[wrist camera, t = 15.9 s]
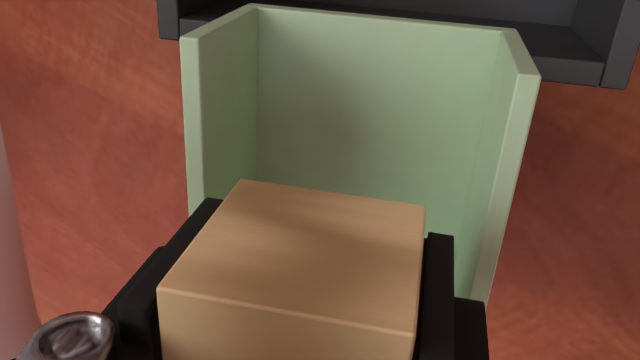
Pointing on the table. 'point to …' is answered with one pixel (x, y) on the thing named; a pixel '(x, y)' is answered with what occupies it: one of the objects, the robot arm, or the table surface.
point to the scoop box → (365, 116)
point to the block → (296, 279)
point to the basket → (487, 10)
